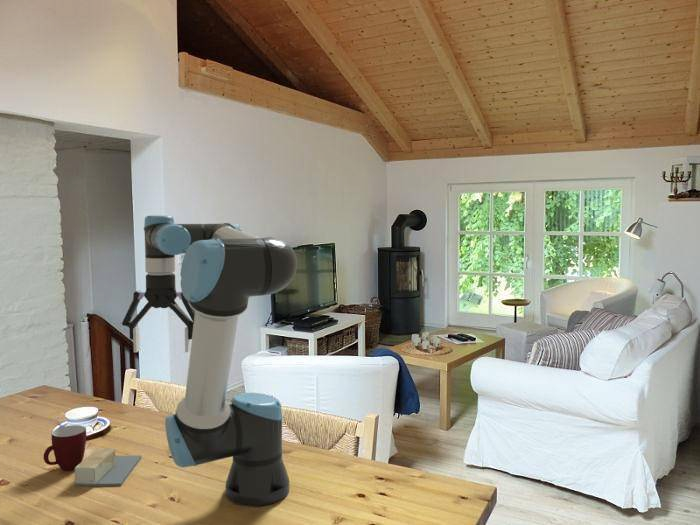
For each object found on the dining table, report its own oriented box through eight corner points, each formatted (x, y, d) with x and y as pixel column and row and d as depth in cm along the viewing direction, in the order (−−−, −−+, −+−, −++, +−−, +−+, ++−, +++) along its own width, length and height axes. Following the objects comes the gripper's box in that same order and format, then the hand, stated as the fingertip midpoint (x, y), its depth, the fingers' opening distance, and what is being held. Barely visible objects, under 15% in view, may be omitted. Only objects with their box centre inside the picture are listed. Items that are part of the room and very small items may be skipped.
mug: (57, 482, 143) (55, 442, 142) (36, 474, 147) (35, 436, 146) (94, 465, 153) (92, 428, 152) (73, 459, 156) (72, 423, 155)
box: (115, 449, 151) (95, 467, 140) (116, 464, 152) (96, 485, 141) (95, 448, 151) (74, 467, 140) (96, 464, 152) (74, 484, 141)
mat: (141, 457, 158) (141, 455, 157) (121, 485, 142) (120, 483, 142) (100, 458, 157) (100, 455, 157) (75, 486, 141) (74, 484, 141)
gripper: (210, 271, 160) (211, 347, 162) (118, 271, 159) (120, 347, 161) (204, 275, 152) (206, 354, 154) (107, 274, 151) (110, 354, 153)
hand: (162, 351), depth 158 cm, fingers open, 13 cm apart
